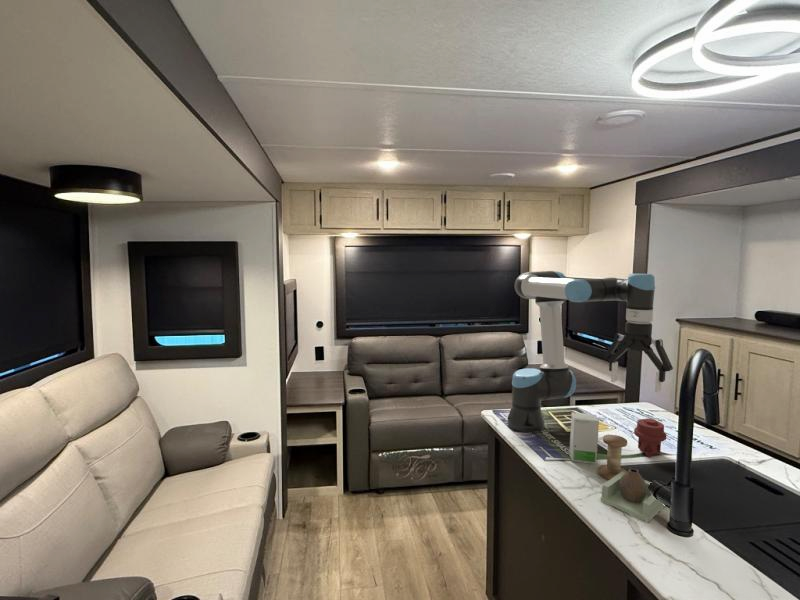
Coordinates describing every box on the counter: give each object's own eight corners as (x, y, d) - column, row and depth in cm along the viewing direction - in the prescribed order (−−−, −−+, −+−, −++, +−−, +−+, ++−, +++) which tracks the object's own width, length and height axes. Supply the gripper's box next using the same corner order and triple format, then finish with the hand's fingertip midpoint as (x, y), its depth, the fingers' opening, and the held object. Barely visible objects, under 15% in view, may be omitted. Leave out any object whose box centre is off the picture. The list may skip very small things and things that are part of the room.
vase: (642, 494, 126) (643, 466, 125) (648, 507, 119) (650, 478, 118) (616, 491, 128) (617, 463, 127) (621, 504, 121) (623, 474, 120)
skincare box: (571, 461, 148) (573, 418, 147) (568, 453, 155) (570, 411, 153) (597, 464, 146) (599, 420, 145) (593, 455, 153) (595, 413, 151)
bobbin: (592, 474, 140) (594, 438, 139) (606, 465, 146) (607, 431, 144) (620, 485, 133) (622, 448, 132) (633, 476, 139) (635, 440, 137)
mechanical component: (652, 462, 147) (626, 450, 156) (671, 456, 152) (645, 445, 161) (655, 428, 146) (628, 418, 155) (673, 423, 150) (646, 413, 159)
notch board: (600, 500, 125) (601, 485, 124) (620, 485, 133) (621, 470, 132) (648, 522, 115) (649, 505, 114) (667, 504, 123) (668, 488, 122)
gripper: (595, 318, 144) (592, 379, 147) (678, 328, 125) (673, 398, 127) (605, 316, 149) (602, 375, 151) (687, 325, 130) (682, 393, 132)
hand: (635, 386), depth 139 cm, fingers open, 13 cm apart
